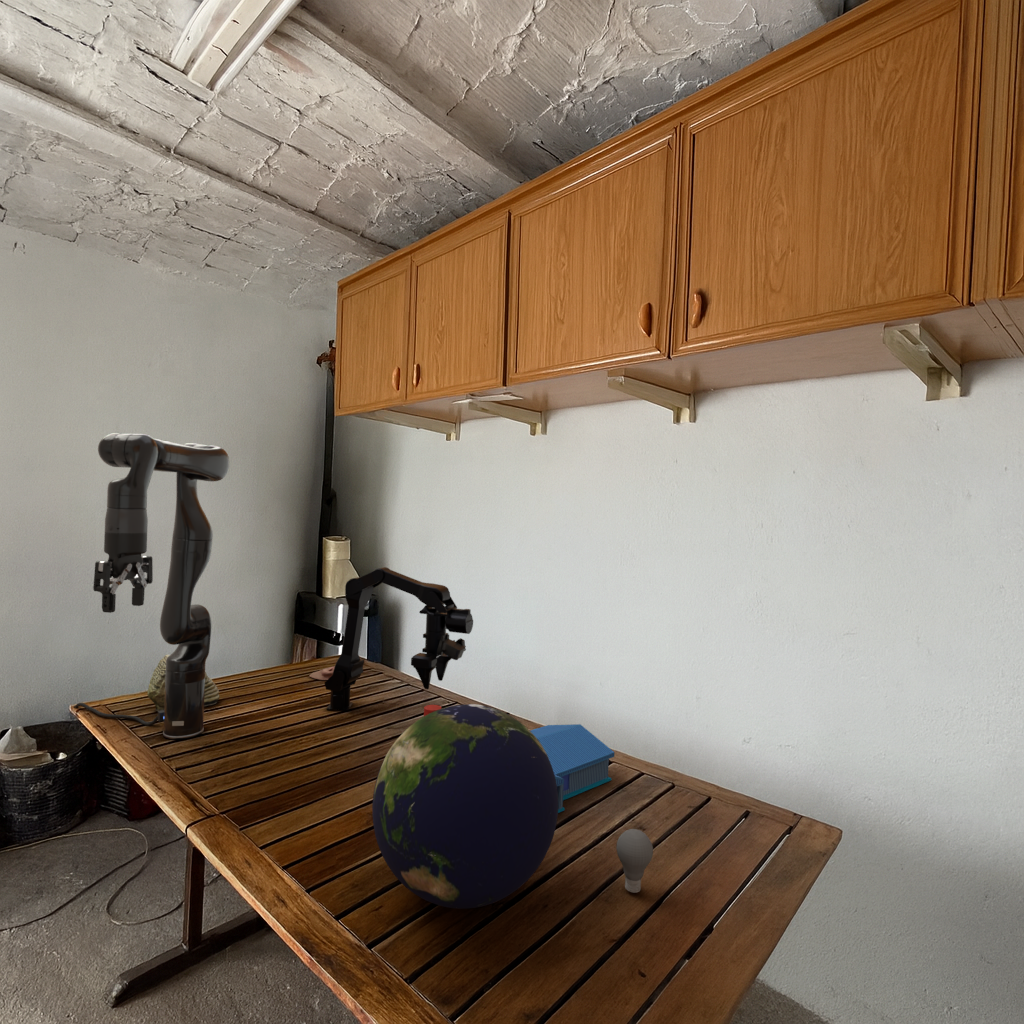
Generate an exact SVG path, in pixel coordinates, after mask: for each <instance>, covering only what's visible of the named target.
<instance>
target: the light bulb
mask: <svg viewBox="0 0 1024 1024" xmlns="http://www.w3.org/2000/svg"><path fill="white" fill-rule="evenodd" d="M615 849H616V854H617V857H618V859H619V861H620V863H621V865H622V867H623V873H624V874H623V875H624V876H625V878H624V888H625V890H627V891H628V892H630V893H634V894H635V893H639V892H640V891H641V889H642V887H641V886H642V879H643V877H644V875H645V871H646V868H647V867H648V866H649V864H650V863H651V861H652V859H653V855H654V847H653V843H652V841H651V838H649V836H648V835H647V834H646V833H645V832H643V831H642V830H641V829H636V828H629V829H627V830H625V831H623V832H622V833H621V834H620V835H619V837H618V839H617V841H616V847H615Z"/></svg>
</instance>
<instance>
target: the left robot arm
mask: <svg viewBox="0 0 1024 1024" xmlns="http://www.w3.org/2000/svg"><path fill="white" fill-rule="evenodd" d="M97 453H98V456H99V458H100V459H101V460H102V461H103V462H104V463H105V464H106V465H108V466H109V467H113V468H130V469H129V471H128V473H127V475H126V476H125V477H123V478H116V479H112V480H110V481H109V482H108V484H107V491H106V492H107V493H106V494H107V495H106V512H105V516H104V517H105V518H104V539H103V540H104V542H103V552H104V553H105V554H107V555H108V559H107V561H106V560H97V561H95V563H94V573H93V575H94V576H93V587H92V589H93V592H98V593H100V594H101V609H102V612H103V613H109V614H111V613H114V612H115V611H116V602H117V601H116V598H117V596H116V595H117V594H116V592H117V590H118V588H119V586H121V585H122V584H123V583H124V581H130V584H131V585H132V589H131V605H132V606H134V607H135V606H136V607H140V606H144V603H145V590H146V589H145V588H147V586H148V585H151V584H152V583H153V581H154V580H153V577H154V576H153V575H154V574H153V567H154V566H153V557H152V556H150V555H143V554H145V553H146V552H147V549H148V520H149V519H148V512H147V511H148V507H147V506H148V503H147V502H148V489H149V486H150V482H151V479H152V477H153V473H154V472H162V473H175V474H176V475H175V476H176V477H175V478H176V481H175V482H176V484H175V485H176V487H175V489H176V490H175V491H176V492H175V493H176V494H175V495H176V498H175V512H174V513H175V514H174V523H173V530H172V539H171V546H170V547H171V548H170V560H169V561H170V562H169V569H168V577H167V585H166V590H165V595H164V600H163V604H162V609H161V614H160V618H159V631H160V635H161V637H162V639H163V641H164V642H165V643H167V644H168V645H172V646H176V645H177V646H176V647H175V650H173V652H172V653H170V654H169V655H170V656H169V657H168V658H167V660H166V674H165V705H164V710H160V711H159V710H157V715H156V716H155V717H154V718H153V719H152V721H145V720H143V719H142V718H140V717H138V716H135V715H128V714H111V713H105V712H102V711H100V710H98V709H96V708H94V707H91V706H89V705H88V704H86V703H84V702H78V703H76V704H75V705H74V706H73V708H74V709H78V708H79V707H82V708H84V709H86V710H87V711H89V712H92V713H94V714H95V715H97V716H99V717H101V718H108V719H124V720H125V719H126V720H133V721H136V722H137V723H139V724H142V725H144V726H147V727H149V726H152V725H155V724H156V723H157V722H159V723H161V722H163V731H162V737H164V738H166V739H169V740H185V739H190V738H191V739H192V738H194V737H197V736H199V735H202V734H203V732H204V730H205V729H204V722H205V721H204V718H205V706H204V693H205V672H206V664H207V663H206V662H207V659H208V657H209V654H210V649H211V648H210V647H211V639H212V617H211V614H210V612H209V610H208V609H207V608H206V607H205V606H204V605H201V604H196V603H195V604H194V603H193V604H192V601H193V596H194V591H195V588H196V586H197V584H198V582H199V580H200V578H201V577H202V575H203V573H204V572H205V570H206V568H207V566H208V564H209V561H210V559H211V556H212V549H213V548H212V547H213V537H214V533H213V528H212V525H211V523H210V521H209V519H208V517H207V516H206V513H205V511H204V510H203V508H202V505H201V503H200V500H199V497H198V481H202V482H219V481H222V480H223V479H224V478H225V477H226V476H227V474H228V472H229V469H230V457H229V454H228V453H227V451H226V450H225V449H224V448H223V447H220V446H217V445H211V444H204V443H195V442H186V443H184V444H181V443H178V442H177V443H176V442H174V441H168V440H163V439H159V438H153V437H152V436H151V435H148V434H145V433H127V432H111V433H109V434H106V435H104V437H102V438H101V439H100V441H99V443H98V445H97ZM101 580H102V585H101ZM110 585H111V586H110Z"/></svg>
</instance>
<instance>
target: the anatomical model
mask: <svg viewBox="0 0 1024 1024" xmlns="http://www.w3.org/2000/svg"><path fill="white" fill-rule="evenodd" d="M334 667H335V665H334V666H330V667H326V668H322V669H320V670H316V671H313V672H312V673H311V674H309V676H308V677H310V678H312V679H315V680H320V681H327V680H328V679H329V678H330V677H331V676H332V675H333V671H334Z"/></svg>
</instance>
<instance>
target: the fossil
mask: <svg viewBox="0 0 1024 1024" xmlns="http://www.w3.org/2000/svg"><path fill="white" fill-rule="evenodd" d="M170 655H171V654H165V655H164V656H163V657H162V658H161V659H160V660H159V662H158V663H157V666H156V667H155V669H154V670H153V672H152V675H151V677H150V680H149V684H148V688H147V697H148V699H149V700H150V701H152V703H153V704H154V706H155V711H160V710H164V705H165V674H166V660H167V658H168V657H169V656H170ZM220 698H221V696H220V690H219V688H218V686H217V685H216V683H215V682H214V681H213V679H212V678H211V677H209V675H208V674H207V672H206V671H205V693H204V707H207V706H213V705H215V704H217V703H218V701H219V699H220Z"/></svg>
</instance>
